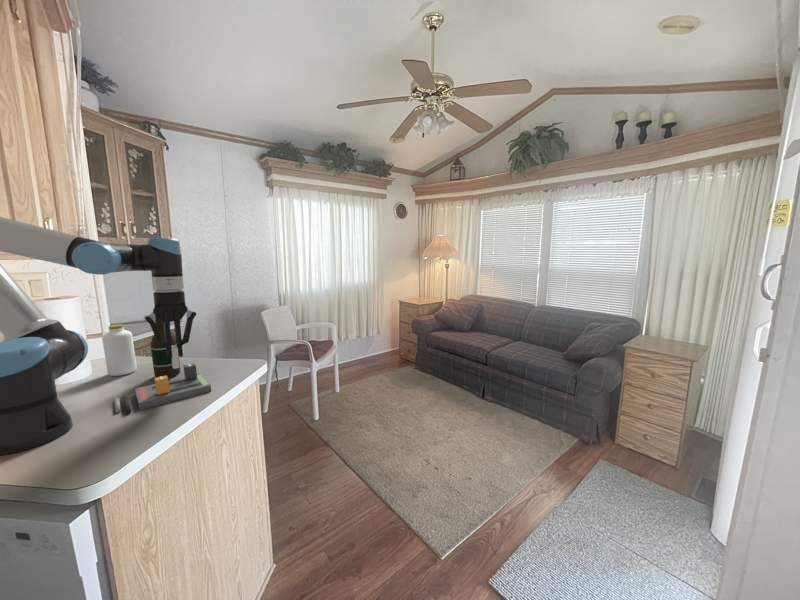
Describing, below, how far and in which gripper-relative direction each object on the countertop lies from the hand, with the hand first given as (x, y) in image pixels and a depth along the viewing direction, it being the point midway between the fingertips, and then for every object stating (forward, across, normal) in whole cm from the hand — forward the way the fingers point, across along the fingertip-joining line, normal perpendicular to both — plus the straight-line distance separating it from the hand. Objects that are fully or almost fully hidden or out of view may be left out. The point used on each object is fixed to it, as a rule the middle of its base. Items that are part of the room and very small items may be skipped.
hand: (175, 367), depth 100 cm
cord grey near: (+9, -14, +3) cm, 17 cm away
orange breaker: (+7, -4, 0) cm, 8 cm away
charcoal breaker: (+7, +5, +7) cm, 11 cm away
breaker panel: (+9, -1, +3) cm, 10 cm away
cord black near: (+9, -12, +1) cm, 15 cm away
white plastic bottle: (+10, -12, +38) cm, 41 cm away
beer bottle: (+10, 0, +23) cm, 25 cm away
